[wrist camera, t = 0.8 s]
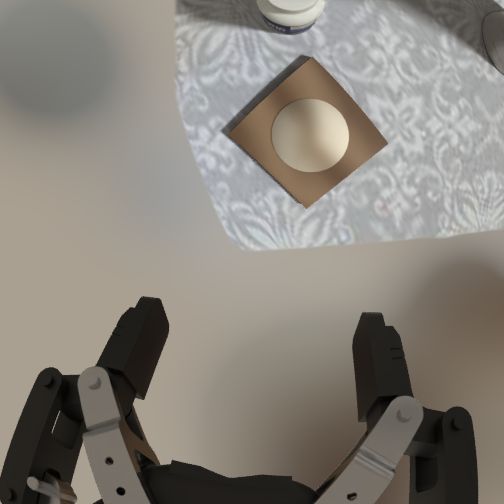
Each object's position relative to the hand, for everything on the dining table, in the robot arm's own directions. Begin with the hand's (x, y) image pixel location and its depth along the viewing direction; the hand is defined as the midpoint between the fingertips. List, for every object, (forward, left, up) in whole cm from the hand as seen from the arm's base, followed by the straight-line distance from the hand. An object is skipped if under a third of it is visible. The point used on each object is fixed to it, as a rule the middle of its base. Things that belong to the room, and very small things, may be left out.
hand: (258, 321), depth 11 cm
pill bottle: (-12, -10, -24) cm, 28 cm away
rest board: (-4, +1, -23) cm, 24 cm away
